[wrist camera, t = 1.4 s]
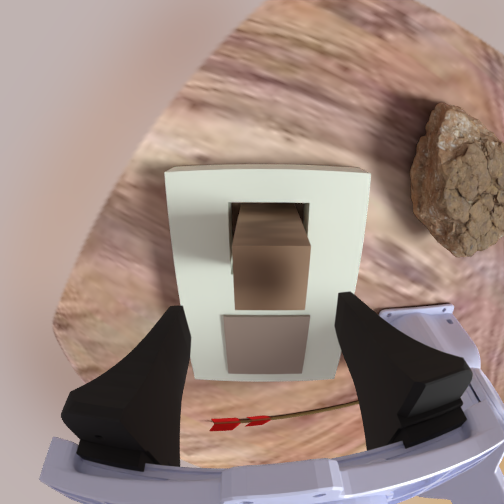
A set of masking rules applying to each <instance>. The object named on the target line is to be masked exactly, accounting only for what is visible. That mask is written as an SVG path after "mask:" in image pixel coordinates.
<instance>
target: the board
mask: <svg viewBox="0 0 504 504" xmlns="http://www.w3.org/2000/svg"><path fill="white" fill-rule="evenodd" d="M164 174H165V186H166V197H167V208H168V217H169V226H170V235H171V243H172V251H173V258H174V266H175V273H176V279H177V286H178V292H179V298H180V304H181V306H183V308H184V312H185V315H186V319H187V323H188V327H189V330H190V334H191V337H192V338H191V352H190V358H191V363H192V367H193V372H194V376H195V379H202V380H219V381H253V382H275V381H308V380H325V379H334V377H335V374H336V370H337V366H338V363H339V359H340V355H341V348H340V345H339V343H338V339H337V335H336V331H335V327H334V324H335V316H336V308H337V300H338V293H341V292H349V291H351V292H352V293H353V294H354V293H355V288H356V283H357V277H358V272H359V266H360V260H361V254H362V247H363V240H364V233H365V226H366V218H367V210H368V201H369V191H370V181H371V173H369V172H367V171H365V170H363V169H361V168H355V167H341V166H323V165H297V164H221V165H195V166H177V167H173V168H171V169H169V170H168V171H166V172H164ZM231 202H290V203H304V211H303V227H304V229H305V232H306V234H307V237H308V239H309V242H310V244H311V253H310V265H309V276H308V286H307V296H306V305H305V310H235V303H234V282H233V259H232V243H233V235H232V206H231Z"/></svg>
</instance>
